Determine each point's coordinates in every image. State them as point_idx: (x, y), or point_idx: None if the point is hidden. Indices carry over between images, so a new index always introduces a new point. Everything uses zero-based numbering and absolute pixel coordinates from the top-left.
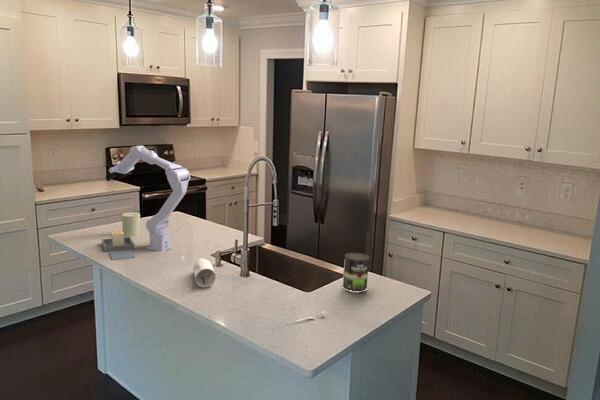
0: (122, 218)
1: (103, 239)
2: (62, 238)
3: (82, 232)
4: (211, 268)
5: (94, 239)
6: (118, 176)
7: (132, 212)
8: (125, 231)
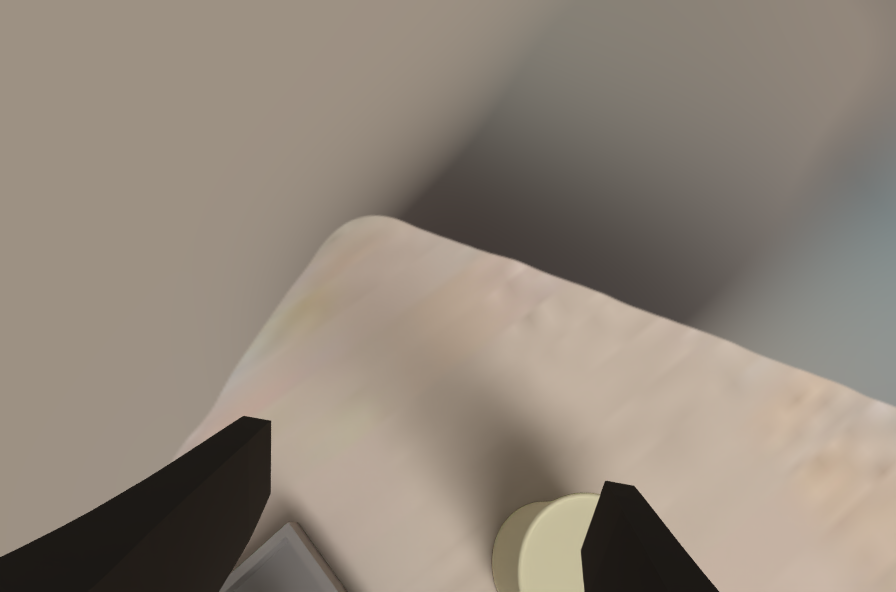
0: (528, 522)
1: (286, 536)
2: (342, 263)
3: (464, 279)
4: None
5: (382, 409)
6: (602, 532)
7: None
8: (500, 558)
